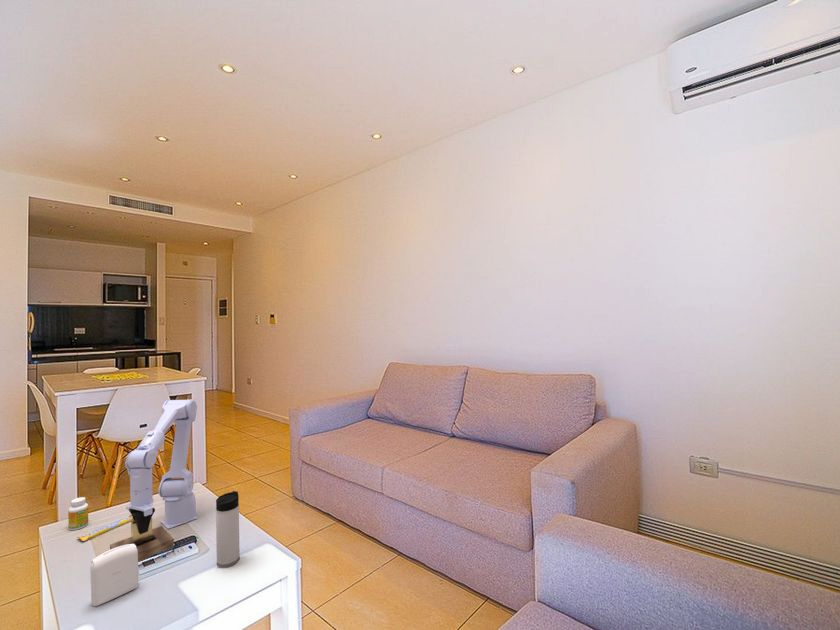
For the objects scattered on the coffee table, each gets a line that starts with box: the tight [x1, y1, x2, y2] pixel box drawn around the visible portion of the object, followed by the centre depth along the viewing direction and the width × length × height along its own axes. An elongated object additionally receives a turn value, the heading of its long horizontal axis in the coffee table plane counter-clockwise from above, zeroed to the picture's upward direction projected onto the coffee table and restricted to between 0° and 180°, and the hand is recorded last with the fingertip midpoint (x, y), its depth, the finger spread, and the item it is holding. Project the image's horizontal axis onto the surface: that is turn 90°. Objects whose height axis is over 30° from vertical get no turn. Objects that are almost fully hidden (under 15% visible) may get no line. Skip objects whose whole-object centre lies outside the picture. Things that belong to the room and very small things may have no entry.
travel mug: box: [215, 490, 241, 569], centre depth 119 cm, size 6×7×20 cm
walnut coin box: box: [109, 525, 175, 562], centre depth 124 cm, size 14×12×4 cm
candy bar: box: [76, 514, 134, 542], centre depth 139 cm, size 17×4×2 cm, turn 153°
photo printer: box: [90, 544, 140, 607], centre depth 105 cm, size 10×4×12 cm, turn 140°
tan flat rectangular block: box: [130, 517, 153, 541], centre depth 123 cm, size 5×2×5 cm, turn 139°
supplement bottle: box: [68, 496, 89, 531], centre depth 141 cm, size 5×5×10 cm
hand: (142, 531), depth 123 cm, fingers closed on tan flat rectangular block, 2 cm apart
